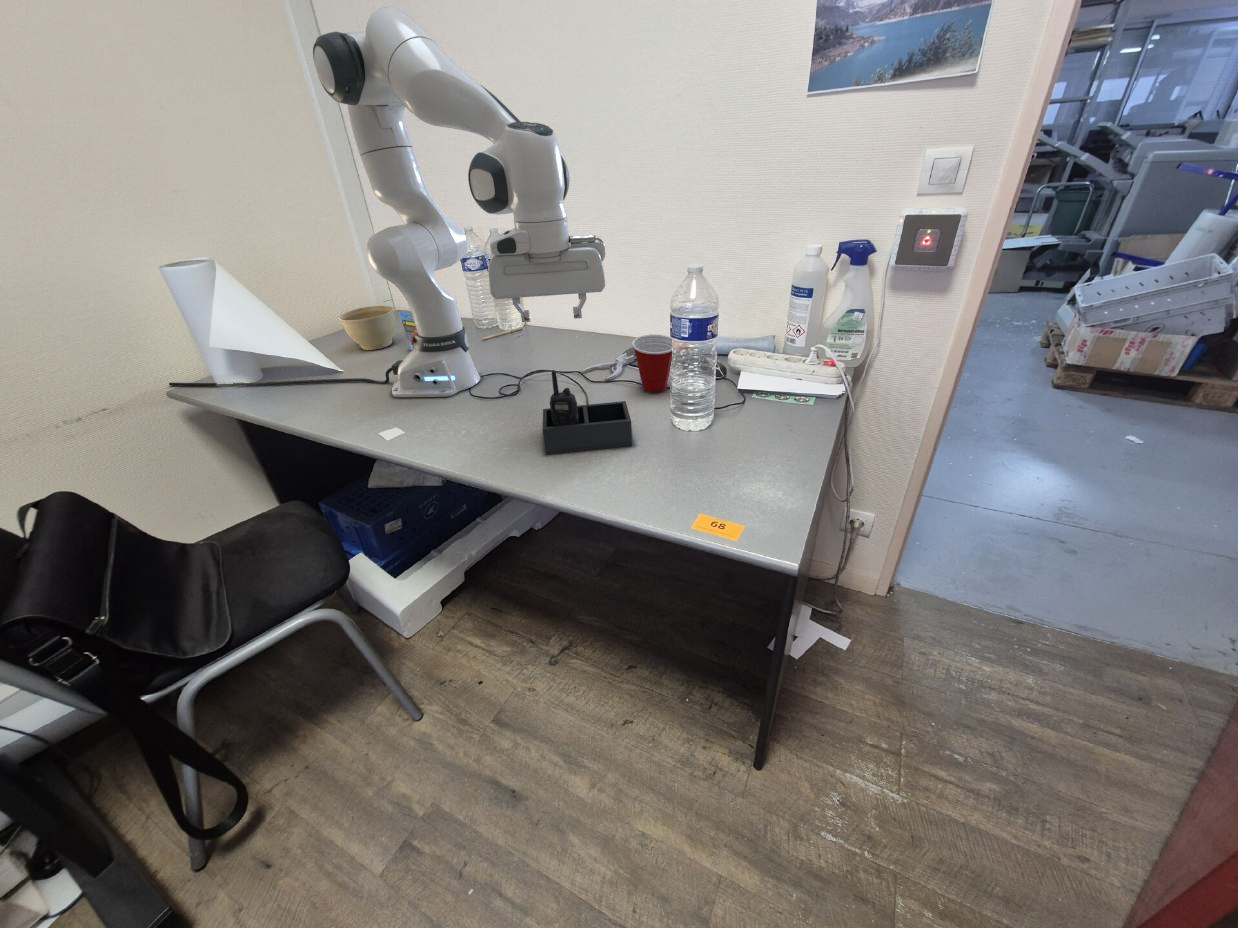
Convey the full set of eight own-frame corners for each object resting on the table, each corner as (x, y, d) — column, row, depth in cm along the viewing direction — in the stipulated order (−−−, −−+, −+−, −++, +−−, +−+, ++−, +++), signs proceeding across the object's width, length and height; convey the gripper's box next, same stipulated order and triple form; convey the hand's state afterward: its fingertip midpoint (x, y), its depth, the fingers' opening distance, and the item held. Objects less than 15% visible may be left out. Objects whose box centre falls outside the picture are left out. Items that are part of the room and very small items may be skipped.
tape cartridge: (438, 350, 157) (427, 310, 150) (428, 354, 154) (417, 314, 148) (419, 346, 161) (408, 307, 155) (409, 350, 159) (398, 311, 152)
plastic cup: (647, 401, 118) (646, 353, 112) (625, 386, 126) (623, 339, 120) (685, 391, 122) (686, 343, 116) (662, 376, 130) (662, 331, 124)
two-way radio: (552, 441, 103) (542, 373, 94) (558, 431, 106) (549, 364, 98) (579, 442, 102) (571, 373, 94) (583, 432, 105) (576, 364, 97)
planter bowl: (384, 334, 174) (374, 303, 168) (412, 342, 165) (403, 308, 160) (340, 349, 163) (328, 315, 157) (367, 357, 155) (356, 322, 149)
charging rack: (632, 446, 101) (631, 420, 98) (546, 454, 100) (542, 429, 97) (626, 425, 109) (625, 400, 106) (546, 433, 108) (543, 408, 105)
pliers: (580, 367, 134) (616, 350, 144) (580, 373, 135) (617, 356, 145) (607, 375, 129) (643, 357, 138) (608, 381, 130) (643, 363, 139)
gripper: (602, 231, 88) (606, 310, 95) (484, 238, 86) (498, 318, 94) (605, 237, 83) (610, 320, 90) (480, 245, 81) (495, 329, 89)
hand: (552, 319), depth 92 cm, fingers open, 8 cm apart
